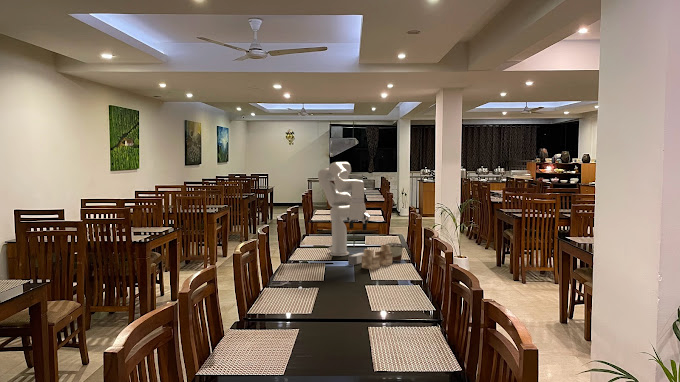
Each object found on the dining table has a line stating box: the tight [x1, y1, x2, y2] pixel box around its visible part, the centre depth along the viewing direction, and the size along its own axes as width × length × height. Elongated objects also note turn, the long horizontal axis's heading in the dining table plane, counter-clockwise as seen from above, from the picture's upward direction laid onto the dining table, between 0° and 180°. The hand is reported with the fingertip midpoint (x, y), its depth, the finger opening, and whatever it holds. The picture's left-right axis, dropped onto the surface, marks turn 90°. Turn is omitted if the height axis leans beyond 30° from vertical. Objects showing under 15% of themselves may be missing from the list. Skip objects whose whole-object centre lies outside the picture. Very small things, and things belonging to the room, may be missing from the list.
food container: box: [384, 242, 404, 262], centre depth 310 cm, size 12×6×10 cm, turn 84°
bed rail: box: [347, 251, 364, 266], centre depth 304 cm, size 4×14×5 cm, turn 141°
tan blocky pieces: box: [361, 243, 393, 271], centre depth 295 cm, size 8×19×11 cm, turn 141°
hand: (358, 229), depth 302 cm, fingers open, 9 cm apart
